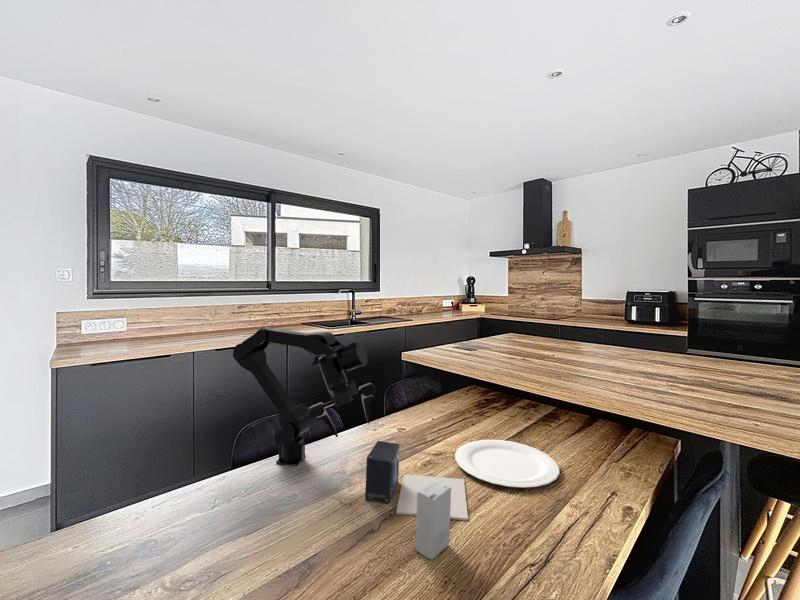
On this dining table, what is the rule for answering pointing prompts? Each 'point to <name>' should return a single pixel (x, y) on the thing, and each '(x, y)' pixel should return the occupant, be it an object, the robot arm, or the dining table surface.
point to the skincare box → (433, 519)
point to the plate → (507, 463)
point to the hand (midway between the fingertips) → (353, 429)
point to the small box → (382, 472)
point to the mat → (416, 483)
